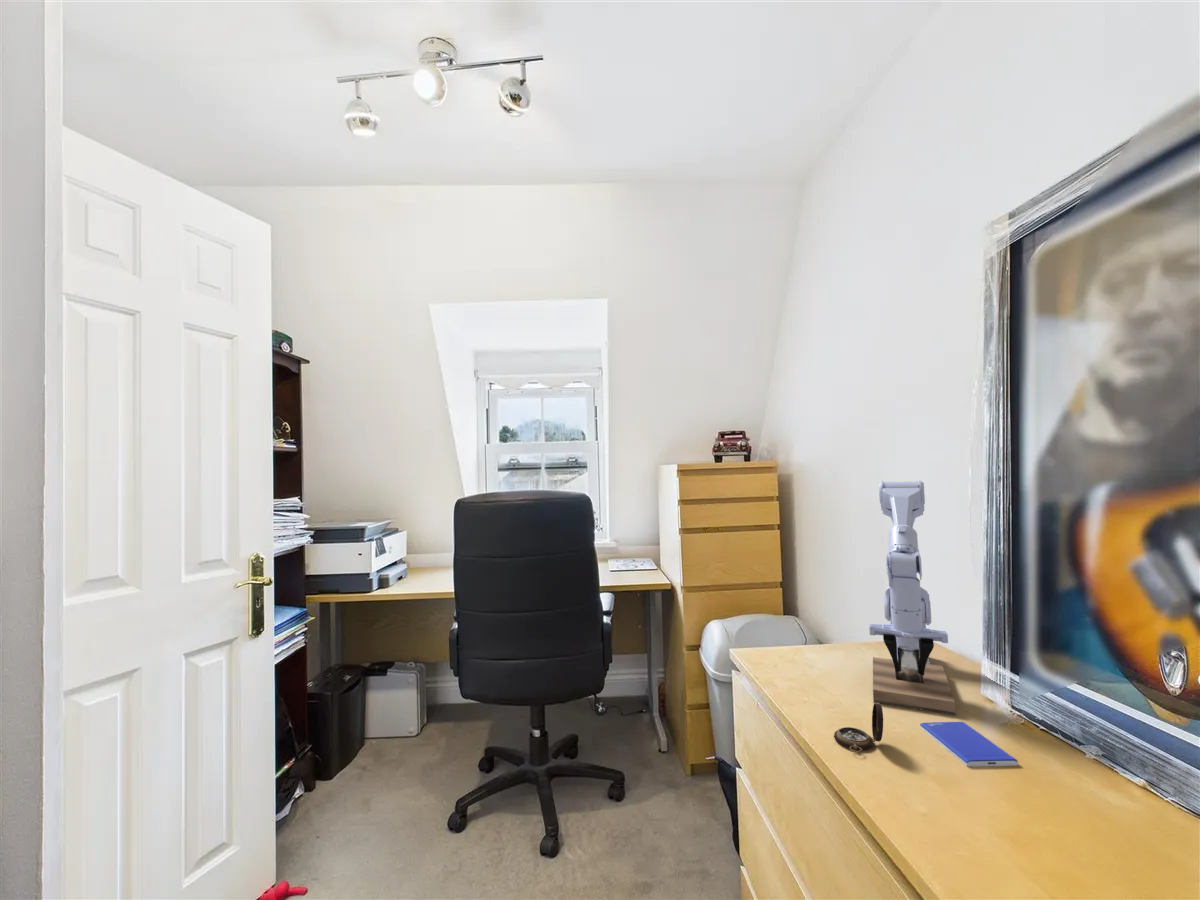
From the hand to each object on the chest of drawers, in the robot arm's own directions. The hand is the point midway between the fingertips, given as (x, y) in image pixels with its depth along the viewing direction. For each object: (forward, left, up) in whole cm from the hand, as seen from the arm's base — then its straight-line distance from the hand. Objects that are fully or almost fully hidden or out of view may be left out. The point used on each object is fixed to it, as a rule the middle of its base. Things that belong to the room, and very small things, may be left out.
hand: (909, 671), depth 112 cm
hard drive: (+22, +7, -4) cm, 23 cm away
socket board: (0, 0, -4) cm, 4 cm away
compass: (+29, -9, -4) cm, 31 cm away
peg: (0, 0, -2) cm, 2 cm away
